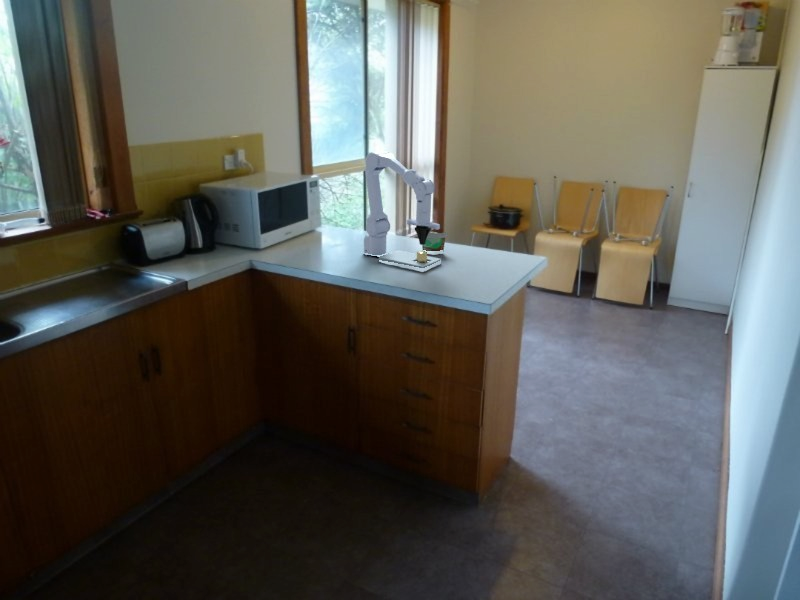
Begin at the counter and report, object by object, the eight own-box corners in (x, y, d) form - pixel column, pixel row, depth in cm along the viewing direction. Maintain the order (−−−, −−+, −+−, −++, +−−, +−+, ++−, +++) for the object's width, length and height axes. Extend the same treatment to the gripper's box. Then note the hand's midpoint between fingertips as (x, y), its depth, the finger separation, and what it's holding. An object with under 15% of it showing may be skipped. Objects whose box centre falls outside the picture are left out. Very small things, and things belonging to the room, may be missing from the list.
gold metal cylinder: (414, 266, 242) (414, 252, 240) (420, 264, 245) (421, 250, 243) (422, 268, 240) (422, 254, 238) (428, 266, 243) (429, 252, 240)
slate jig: (378, 262, 246) (378, 257, 245) (397, 255, 257) (397, 249, 256) (423, 272, 235) (423, 266, 234) (441, 264, 245) (441, 258, 245)
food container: (414, 253, 260) (415, 231, 257) (420, 250, 266) (421, 228, 262) (440, 257, 255) (441, 235, 252) (446, 254, 260) (447, 232, 257)
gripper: (402, 210, 235) (402, 243, 240) (433, 215, 228) (432, 249, 232) (412, 207, 241) (411, 239, 246) (443, 212, 233) (441, 245, 238)
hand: (422, 244), depth 239 cm, fingers closed
